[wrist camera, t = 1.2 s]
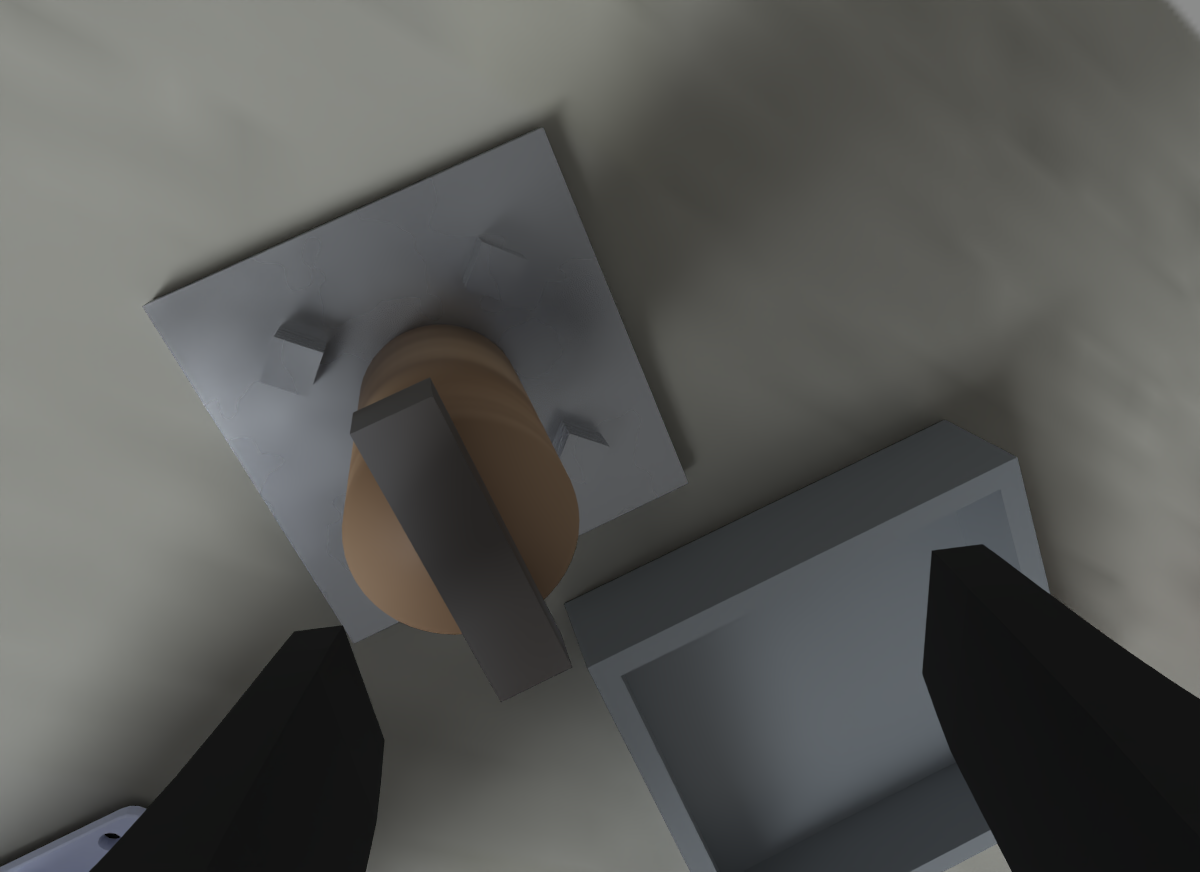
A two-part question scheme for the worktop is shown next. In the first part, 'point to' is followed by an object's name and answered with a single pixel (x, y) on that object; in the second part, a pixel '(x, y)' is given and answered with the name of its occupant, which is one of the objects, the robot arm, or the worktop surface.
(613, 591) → the bin
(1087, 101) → the worktop surface
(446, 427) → the brown wooden cylinder
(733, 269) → the worktop surface
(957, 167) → the worktop surface
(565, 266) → the plate
